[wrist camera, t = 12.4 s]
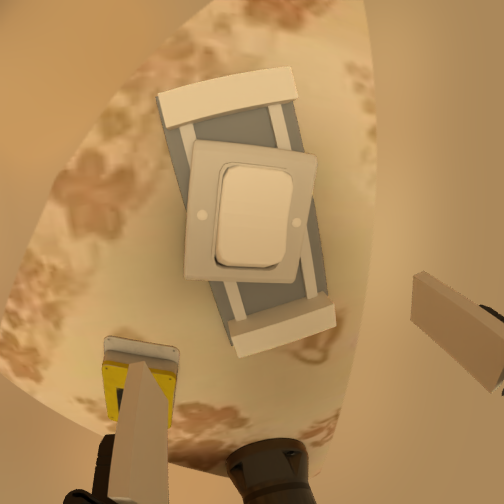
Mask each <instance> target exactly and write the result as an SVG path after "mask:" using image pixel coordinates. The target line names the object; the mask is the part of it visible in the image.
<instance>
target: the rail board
mask: <svg viewBox="0 0 504 504" xmlns="http://www.w3.org/2000/svg"><path fill="white" fill-rule="evenodd" d="M298 98H299V97H298V93H297V89H296V85H295V81H294V78H293V74H292V70H291V67H290V66H286V67H277V68H270V69H263V70H256V71H250V72H244V73H239V74H233V75H228V76H224V77H219V78H214V79H210V80H206V81H201V82H197V83H193V84H190V85H186V86H182V87H179V88H175V89H172V90H168V91H165V92H162V93H158V96H157V97H156V101H157V105H158V109H159V113H160V117H161V121H162V125H163V129H164V133H165V137H166V141H167V145H168V148H169V152H170V156H171V159H172V163H173V167H174V170H175V174H176V177H177V181H178V184H179V188H180V191H181V195H182V198H183V201H184V205H185V208H186V212H187V204H188V192H189V180H190V169H191V159H192V149H193V142H194V141H195V140H197V139H198V140H210V141H221V142H231V143H240V144H249V145H257V146H264V147H271V148H278V149H285V150H291V151H297V152H303V153H304V148H303V144H302V139H301V135H300V130H299V126H298V121H297V117H296V113H295V109H294V105H293V101H294V100H296V99H298ZM214 258H215V261H216V263H218V264H220V265H222V266H226V265H223V264H221V263H219V262H218V261H217V258H216V255H215V257H214ZM271 266H273V265H271ZM268 267H270V266H268ZM265 268H267V267H265ZM209 284H210V286H211V289H212V292H213V295H214V298H215V301H216V304H217V307H218V310H219V312H220V315H221V318H222V321H223V324H224V327H225V329H226V332H227V335H228V338H229V340H230V343H231V346H234V347H235V350H236V353H237V355H238V358H242V357H246V356H249V355H253V354H256V353H259V352H263V351H266V350H269V349H272V348H275V347H279V346H282V345H285V344H288V343H291V342H294V341H297V340H300V339H303V338H305V337H308V336H311V335H314V334H317V333H319V332H322V331H325V330H328V329H330V328H333V327H336V315H335V305H334V303H333V302H332V300H331V299H330V298H329V297H328V291H327V283H326V276H325V268H324V261H323V254H322V247H321V241H320V234H319V228H318V222H317V216H316V210H315V205H314V199H313V194H312V199H311V204H310V210H309V215H308V220H307V225H306V231H305V236H304V241H303V245H302V250H301V255H300V260H299V265H298V269H297V274H296V279H295V280H294V282H293V283H256V282H228V281H209Z"/></svg>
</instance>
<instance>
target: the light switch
mask: <svg viewBox="0 0 504 504" xmlns="http://www.w3.org/2000/svg"><path fill="white" fill-rule="evenodd" d="M317 165H318V164H317V156H316V155H314V154H309V153H303V152H297V151H291V150H285V149H278V148H271V147H264V146H257V145H249V144H240V143H231V142H221V141H210V140H198V139H197V140H195V141H194V142H193V149H192V159H191V169H190V180H189V192H188V204H187V219H186V235H185V255H184V278H185V279H186V280H204V281H228V282H256V283H293V282H294V280H295V279H296V274H297V269H298V265H299V260H300V255H301V250H302V245H303V241H304V236H305V231H306V225H307V220H308V215H309V210H310V204H311V199H312V194H313V188H314V182H315V177H316V171H317ZM215 255H216V258H217V261H218V262H219V263H221V264H223V265H226V266H222V265H220V264H218V263H216V261H215V258H214V257H215ZM271 265H273V266H271ZM268 266H270V267H268ZM265 267H267V268H265Z"/></svg>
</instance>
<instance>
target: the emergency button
mask: <svg viewBox="0 0 504 504" xmlns="http://www.w3.org/2000/svg"><path fill="white" fill-rule="evenodd" d="M104 354H105V356H104V360H103V364H102V376H103V385H104V393H105V401H106V408H107V414H108V418H109V419H111V420H113V421H117V422H118V416H119V411H120V406H121V400H122V395H123V391H124V386H125V381H126V377H127V372H128V368H129V364H131V363H136V362H141V361H145V363H146V365H147V366H148V368H149V370H150V371H151V373H152V375H153V377H154V378H155V380H156V382H157V383H158V385H159V387H160V388H161V390H162V391H163V393H164V395H165V396H166V398H167V399H168V429H169V428H170V427H171V422H172V414H173V405H174V396H175V387H176V379H177V371H178V364H179V356H180V353H179V350H178V349H177V348H176V347H173V346H168V345H161V344H155V343H149V342H143V341H137V340H131V339H126V338H121V337H116V336H107V337H106V338H105V340H104Z"/></svg>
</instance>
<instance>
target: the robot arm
mask: <svg viewBox="0 0 504 504" xmlns="http://www.w3.org/2000/svg"><path fill="white" fill-rule="evenodd" d="M410 320H411V321H412V322H413V323H414V324H415V325H417V326H418V327H419V328H420V329H421V330H422V331H423V332H425V333H426V334H427V335H428V336H429V337H430V338H431V339H432V340H434V341H435V342H436V343H437V344H438V345H439V346H440V347H442V348H443V349H444V350H445V351H446V352H447V353H448V354H449V355H450V356H451V357H452V358H454V359H455V360H456V361H457V362H458V363H459V364H460V365H461V366H462V367H463V368H465V370H467V371H468V372H469V373H470V374H471V375H472V376H473V377H474V378H475V379H476V380H477V381H478V382H479V383H480V384H481V385H482V386H483V387H484V388H486V390H487V391H488V392H489V393H491V394H492V393H493V392H494V391H495V390H496V389H497V388H498V387H499V386H500V385H501V384H502V382H503V380H504V317H503V316H502V315H500V314H498V312H496V311H494V310H493V309H492V308H490V307H486V306H484V305H479V306H478V305H477V304H475V303H474V302H472V301H471V300H469V299H468V298H466V297H465V296H463V295H461V294H460V293H459V292H457V291H455V290H454V289H452V288H451V287H449V286H447V285H446V284H444V283H443V282H441V281H439V280H438V279H436V278H435V277H433V276H431V275H430V274H428V273H426V272H425V271H423V272H421V273H418V274H416V275H414V276H413V292H412V307H411V319H410ZM503 395H504V389H503V391H502V396H503ZM96 465H97V466H96V467H95V474H94V481H93V488H92V494H90V493H89V492H87V491H85V490H82V489H76V490H73V491H71V492H69V493H68V494H67V495H66V497H65V499H64V501H63V504H169V491H168V399H167V398H166V396H165V395H164V393H163V391H162V390H161V388H160V387H159V385H158V383H157V382H156V380H155V378H154V377H153V375H152V373H151V371H150V370H149V368H148V366H147V365H146V363H145V361H141V362H136V363H131V364H129V368H128V372H127V377H126V381H125V386H124V391H123V395H122V400H121V406H120V411H119V416H118V422H117V428H116V434H109V435H105V436H104V438H103V440H102V441H101V443H100V445H99V450H98V458H97V461H96ZM226 467H227V473H228V476H229V477H230V479H231V480H232V482H233V484H234V485H235V487H236V488H237V490H238V491H239V493H240V494H241V496H242V498H243V502H244V504H316V501H315V499H314V496H313V493H312V491H311V489H310V486H309V483H308V453H307V451H306V448H305V446H304V444H303V443H301V442H299V441H297V440H293V439H272V440H266V441H261V442H257V443H253V444H250V445H248V446H245V447H243V448H241V449H239V450H237V451H235V452H234V453H233V454H231V455H230V456H229V457H228V459H227V461H226Z"/></svg>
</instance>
